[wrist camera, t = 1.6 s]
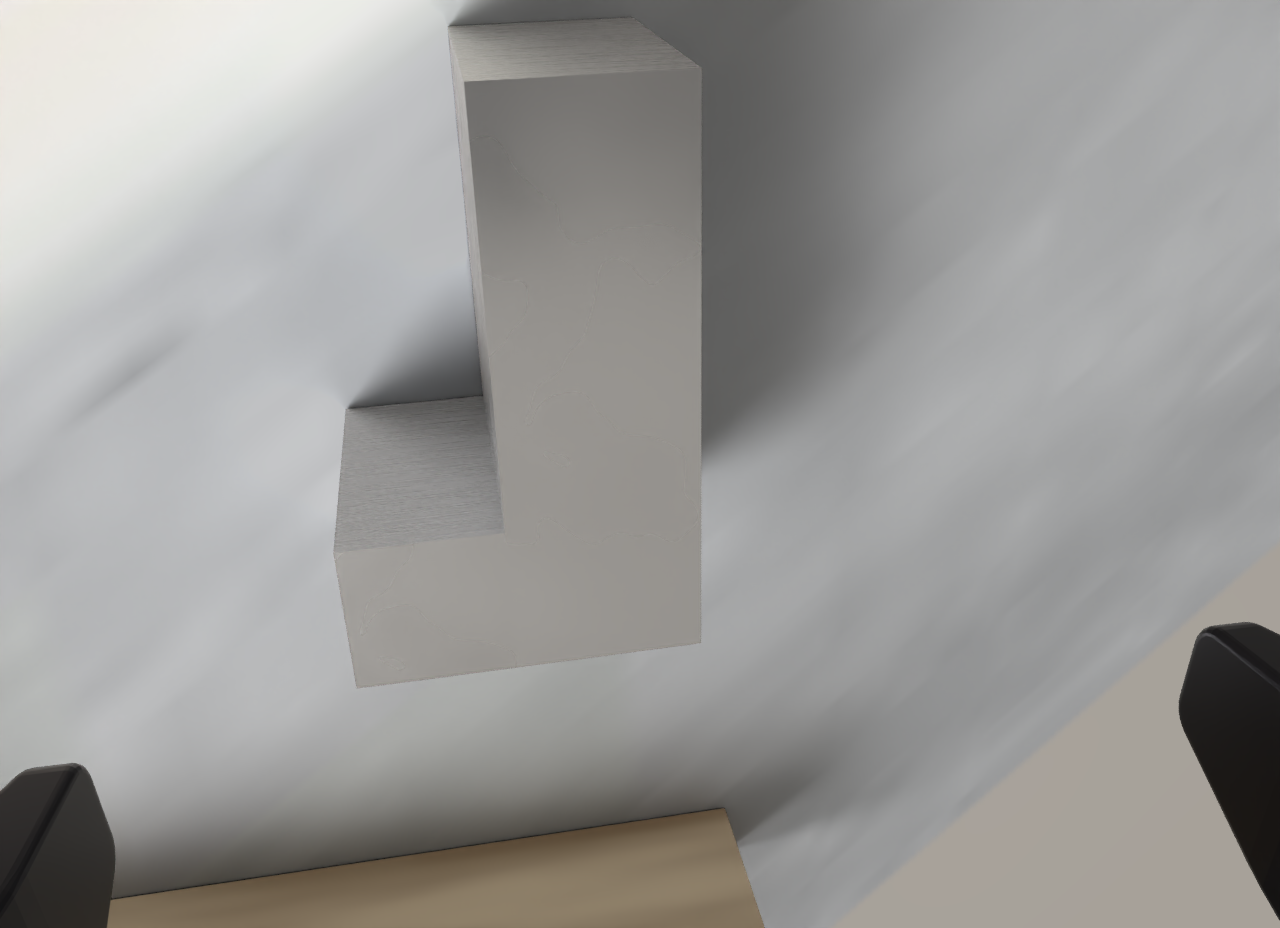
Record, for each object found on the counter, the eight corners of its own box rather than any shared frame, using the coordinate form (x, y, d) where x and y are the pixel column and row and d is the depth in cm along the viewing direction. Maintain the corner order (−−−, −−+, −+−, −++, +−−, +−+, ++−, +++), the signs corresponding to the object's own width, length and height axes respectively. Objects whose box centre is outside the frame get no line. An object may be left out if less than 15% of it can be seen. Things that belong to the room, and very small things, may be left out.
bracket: (643, 494, 23) (701, 643, 19) (363, 526, 23) (356, 688, 18) (632, 17, 19) (702, 67, 15) (287, 34, 18) (253, 93, 14)
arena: (723, 854, 28) (768, 994, 25) (-319, 1015, 25) (-435, 1204, 22) (737, -21, 19) (811, 9, 16) (-916, 53, 16) (-1287, 113, 12)
